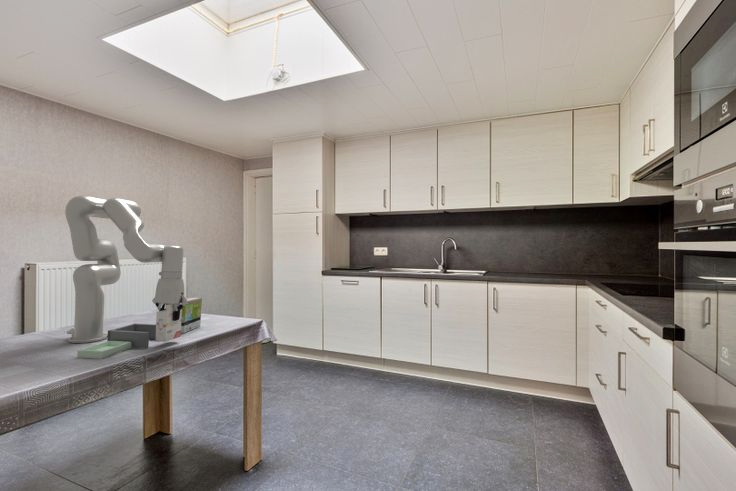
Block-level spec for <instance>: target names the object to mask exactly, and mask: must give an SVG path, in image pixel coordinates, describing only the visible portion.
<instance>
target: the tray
mask: <svg viewBox="0 0 736 491" xmlns="http://www.w3.org/2000/svg"><path fill="white" fill-rule="evenodd" d="M130 349H132V347H131V342H126V341H107V340H106V341H102V342H98V343H95V344H92V345H90V346H87V347H84V348H79V349H78V350H77V353H76V357H77V358H80V359H81V358H86V359H98V358H99V359H101V360H102V359H105V358H108V357H111V356H114V355H116V354H119V353H121V352H125V351H127V350H130Z"/></svg>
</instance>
